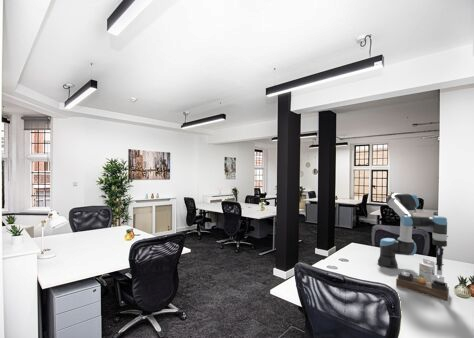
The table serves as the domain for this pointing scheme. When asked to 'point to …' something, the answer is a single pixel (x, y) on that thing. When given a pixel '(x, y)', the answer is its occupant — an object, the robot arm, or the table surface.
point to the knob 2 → (439, 279)
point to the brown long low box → (423, 286)
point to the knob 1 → (405, 274)
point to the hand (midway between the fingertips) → (439, 274)
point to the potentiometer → (421, 280)
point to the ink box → (427, 270)
